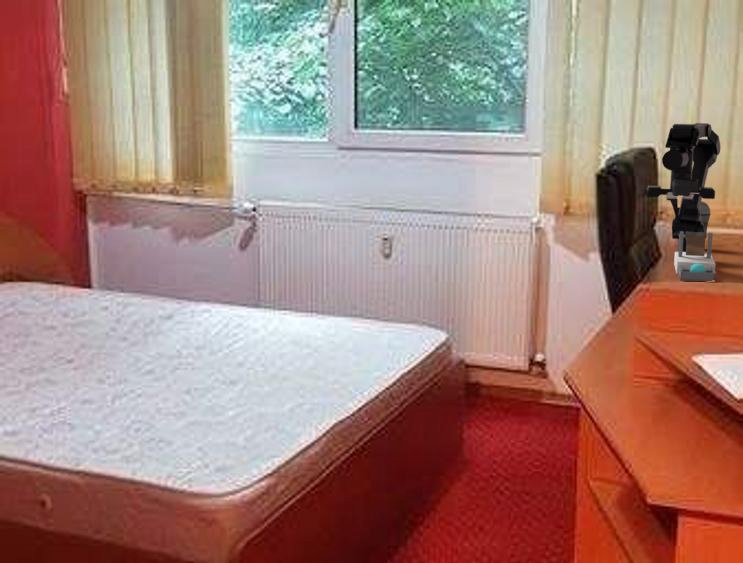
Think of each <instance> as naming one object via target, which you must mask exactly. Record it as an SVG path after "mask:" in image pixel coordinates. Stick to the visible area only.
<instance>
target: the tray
mask: <svg viewBox="0 0 743 563" xmlns="http://www.w3.org/2000/svg"><path fill="white" fill-rule="evenodd" d="M678 277H679V281H680V280H682V281H681V282H695V281H712V280H716V278H717V272H716V269H715V270H714V268H713V267H711V271H706V272H705V273H704V272H690V270H687V269H682V267H681V266H679V274H678ZM716 281H717V280H716Z"/></svg>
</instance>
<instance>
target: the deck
mask: <svg viewBox="0 0 743 563" xmlns="http://www.w3.org/2000/svg"><path fill="white" fill-rule="evenodd" d="M683 238H684V232H683V231H680V238H679V252H677V251H674V258H673V259H674V261H673V264H674V268H675V273H676V275H679V266H681V267H682V269H687V270H690V268H691V267H692V265H694V264H697V263H699V264H702V265H703V266H704V267H705V270H706V271H711V267H713V268H714V270H715V271H716V262H715V260H714V258H713V255H712V250H713V249H712V247H713V232H707V248H706V252H705V255H704V256H690V255H686V252H682V251H683Z"/></svg>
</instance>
